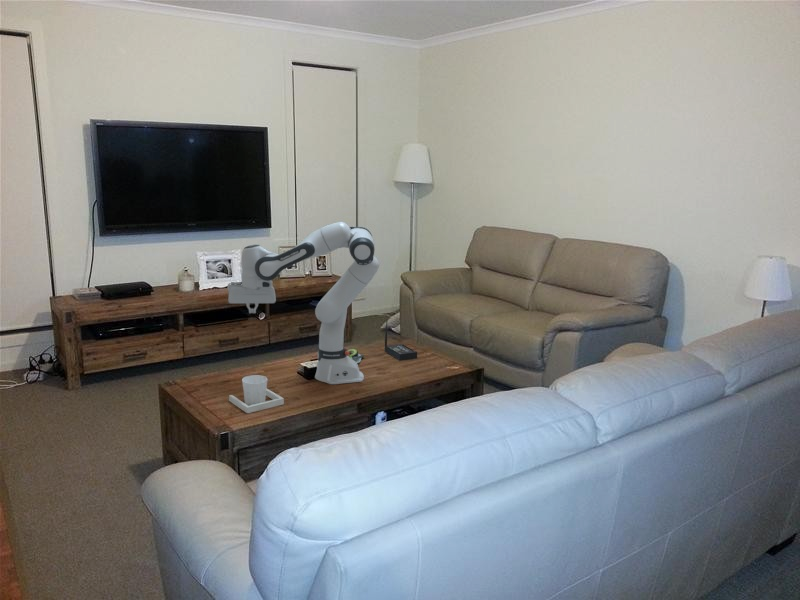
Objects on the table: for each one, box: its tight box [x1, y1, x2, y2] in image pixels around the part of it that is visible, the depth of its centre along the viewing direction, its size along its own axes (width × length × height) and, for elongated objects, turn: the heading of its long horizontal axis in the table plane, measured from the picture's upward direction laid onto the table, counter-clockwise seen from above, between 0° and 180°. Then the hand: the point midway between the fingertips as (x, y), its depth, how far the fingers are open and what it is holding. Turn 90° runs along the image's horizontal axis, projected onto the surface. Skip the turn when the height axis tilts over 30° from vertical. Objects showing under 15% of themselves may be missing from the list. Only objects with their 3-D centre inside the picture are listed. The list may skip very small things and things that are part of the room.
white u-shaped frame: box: [228, 388, 285, 414], centre depth 253 cm, size 15×16×2 cm
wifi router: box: [384, 319, 418, 361], centre depth 324 cm, size 20×14×17 cm
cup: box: [241, 374, 268, 406], centre depth 252 cm, size 10×10×10 cm
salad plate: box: [347, 348, 365, 365], centre depth 310 cm, size 19×18×5 cm
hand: (252, 312), depth 272 cm, fingers closed
